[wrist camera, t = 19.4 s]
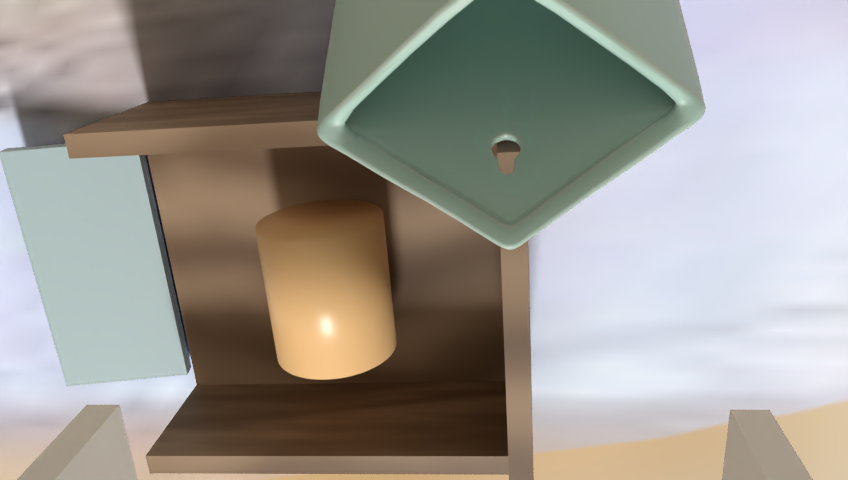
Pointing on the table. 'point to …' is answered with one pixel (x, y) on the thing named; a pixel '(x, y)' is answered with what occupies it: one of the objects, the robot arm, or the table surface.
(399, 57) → the planter
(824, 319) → the table surface
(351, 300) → the peach pillar candle
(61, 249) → the panel
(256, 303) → the brown open rectangular box
